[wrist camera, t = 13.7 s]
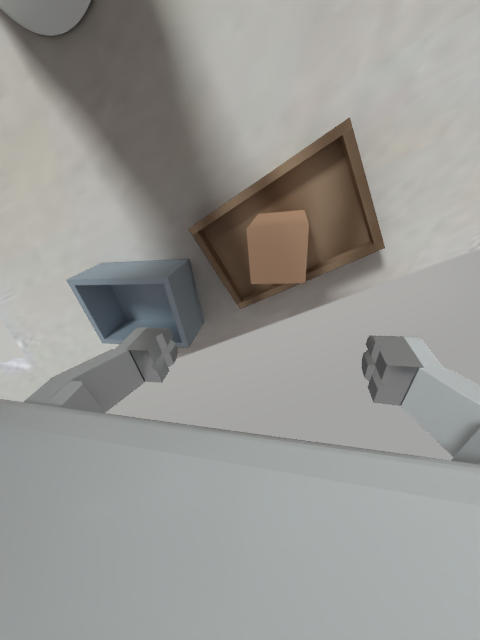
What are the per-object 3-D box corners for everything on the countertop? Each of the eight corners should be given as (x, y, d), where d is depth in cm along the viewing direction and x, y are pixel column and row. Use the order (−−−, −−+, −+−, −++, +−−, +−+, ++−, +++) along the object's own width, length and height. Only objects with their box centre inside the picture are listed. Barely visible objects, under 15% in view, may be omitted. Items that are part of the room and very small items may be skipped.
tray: (243, 300, 32) (239, 309, 30) (195, 224, 28) (188, 229, 26) (377, 241, 25) (384, 247, 23) (343, 123, 20) (349, 117, 18)
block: (258, 213, 25) (246, 228, 18) (304, 209, 24) (309, 224, 17) (260, 257, 27) (250, 284, 21) (302, 255, 26) (305, 283, 20)
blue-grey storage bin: (101, 262, 34) (66, 279, 28) (189, 259, 30) (167, 277, 25) (127, 320, 39) (102, 343, 34) (203, 322, 36) (188, 347, 31)
